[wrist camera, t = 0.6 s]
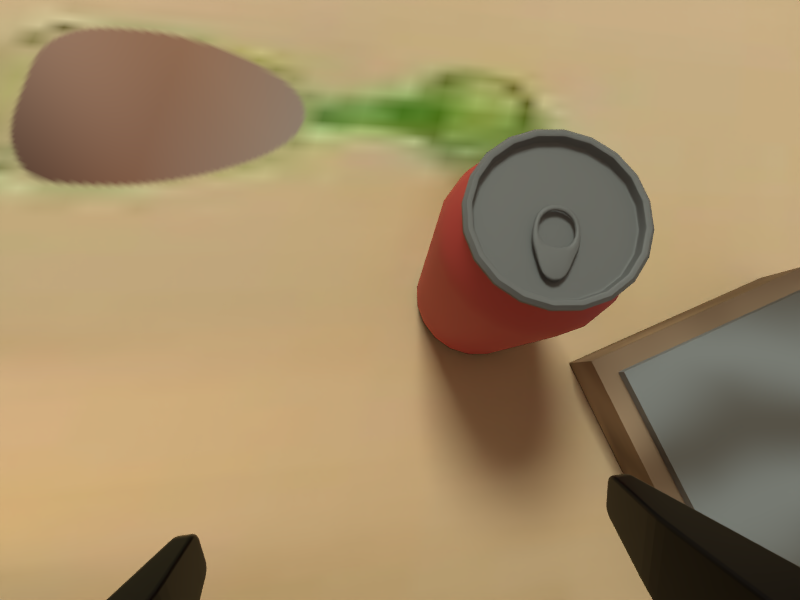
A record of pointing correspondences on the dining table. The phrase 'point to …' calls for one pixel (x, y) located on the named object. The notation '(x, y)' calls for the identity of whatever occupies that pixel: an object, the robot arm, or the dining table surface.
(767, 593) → the robot arm
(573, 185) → the beer can
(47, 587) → the dining table surface
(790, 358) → the walnut stand
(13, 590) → the dining table surface
